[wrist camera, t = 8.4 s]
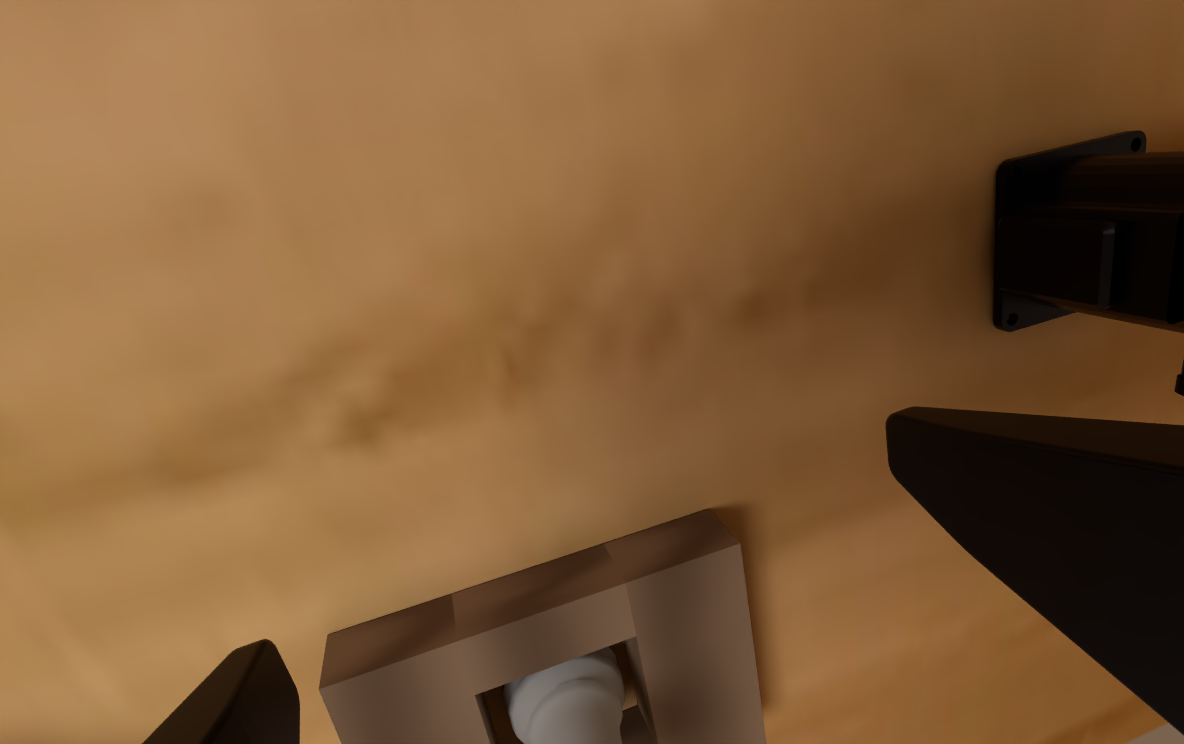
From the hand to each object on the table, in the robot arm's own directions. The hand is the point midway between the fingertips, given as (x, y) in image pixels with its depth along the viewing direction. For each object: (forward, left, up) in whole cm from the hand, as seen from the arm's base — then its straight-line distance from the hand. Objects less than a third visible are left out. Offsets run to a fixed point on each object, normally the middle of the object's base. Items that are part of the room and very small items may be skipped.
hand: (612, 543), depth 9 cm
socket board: (+1, +13, -12) cm, 18 cm away
